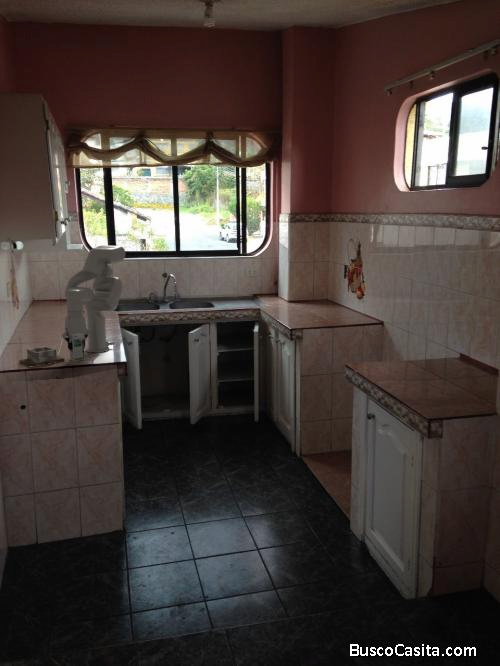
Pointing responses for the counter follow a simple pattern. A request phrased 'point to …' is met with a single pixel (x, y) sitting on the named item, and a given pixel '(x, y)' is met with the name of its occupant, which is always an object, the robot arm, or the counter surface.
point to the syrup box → (77, 347)
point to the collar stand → (41, 356)
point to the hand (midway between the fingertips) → (76, 348)
